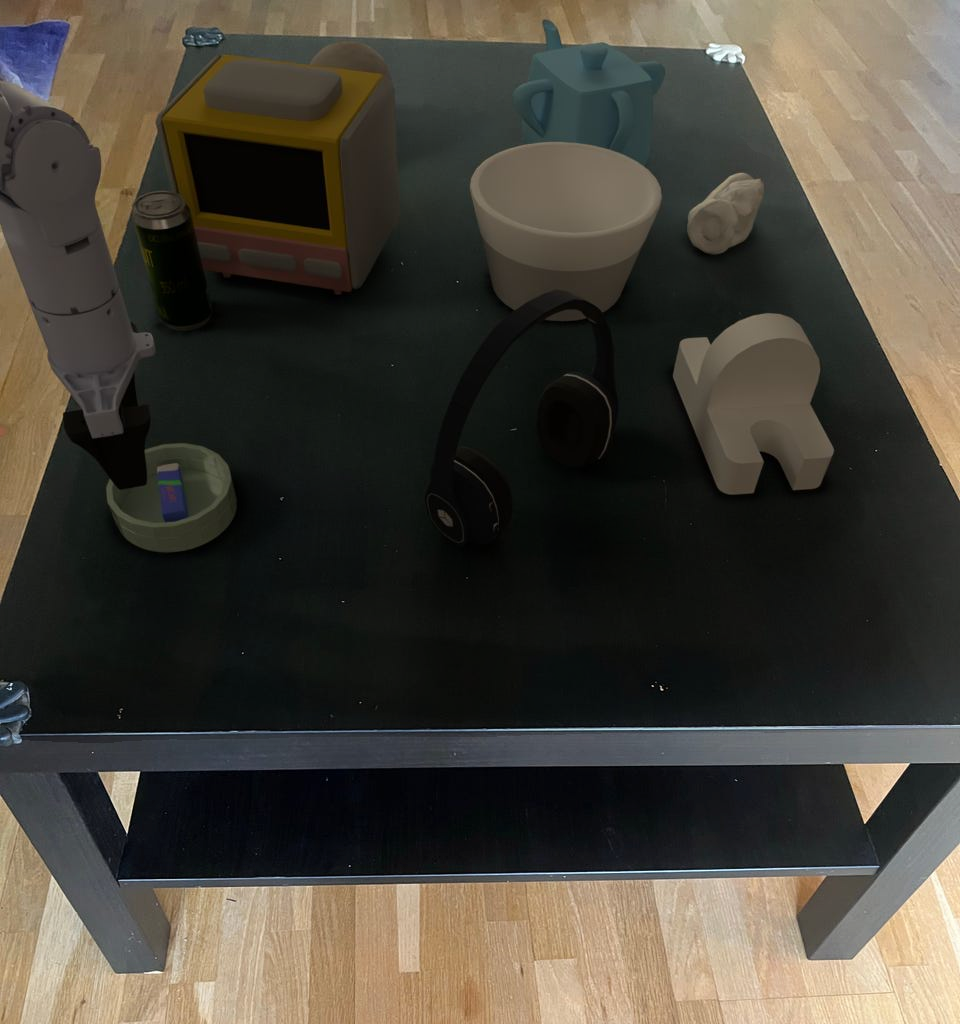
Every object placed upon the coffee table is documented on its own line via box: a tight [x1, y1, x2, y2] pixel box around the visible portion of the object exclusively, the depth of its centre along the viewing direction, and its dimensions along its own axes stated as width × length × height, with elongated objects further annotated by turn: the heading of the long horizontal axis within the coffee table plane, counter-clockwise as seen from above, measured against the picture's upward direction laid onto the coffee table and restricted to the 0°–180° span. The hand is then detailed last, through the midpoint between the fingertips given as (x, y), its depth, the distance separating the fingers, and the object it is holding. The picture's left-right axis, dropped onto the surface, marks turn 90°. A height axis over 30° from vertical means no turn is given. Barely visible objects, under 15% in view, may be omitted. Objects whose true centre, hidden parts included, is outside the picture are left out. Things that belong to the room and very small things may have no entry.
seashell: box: [308, 40, 393, 83], centre depth 120 cm, size 15×14×15 cm
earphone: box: [424, 290, 620, 547], centre depth 76 cm, size 20×7×18 cm, turn 137°
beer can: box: [131, 190, 213, 332], centre depth 94 cm, size 5×5×12 cm
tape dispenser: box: [672, 312, 835, 495], centre depth 86 cm, size 10×18×11 cm, turn 7°
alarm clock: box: [155, 53, 401, 295], centre depth 98 cm, size 20×16×18 cm
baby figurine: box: [686, 172, 765, 255], centre depth 109 cm, size 9×12×8 cm
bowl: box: [469, 142, 663, 322], centre depth 100 cm, size 19×19×11 cm
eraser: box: [157, 463, 188, 522], centre depth 80 cm, size 2×6×2 cm, turn 15°
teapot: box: [512, 18, 666, 168], centre depth 115 cm, size 18×16×14 cm
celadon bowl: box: [105, 442, 238, 553], centre depth 80 cm, size 10×10×3 cm
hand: (128, 451), depth 73 cm, fingers open, 7 cm apart
